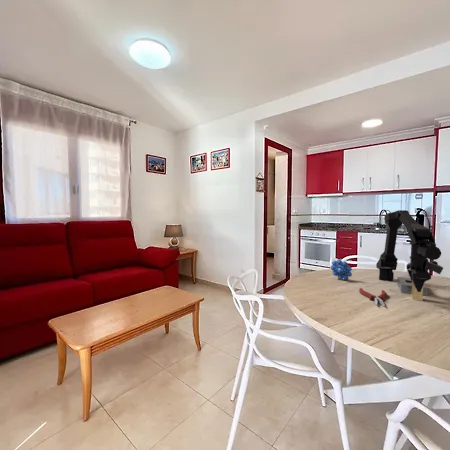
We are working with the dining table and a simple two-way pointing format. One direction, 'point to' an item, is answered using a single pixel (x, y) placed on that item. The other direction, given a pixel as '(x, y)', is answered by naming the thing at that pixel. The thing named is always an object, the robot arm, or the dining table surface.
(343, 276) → the grapes
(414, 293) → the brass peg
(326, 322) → the dining table surface
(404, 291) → the grey block with hole
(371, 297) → the pliers
